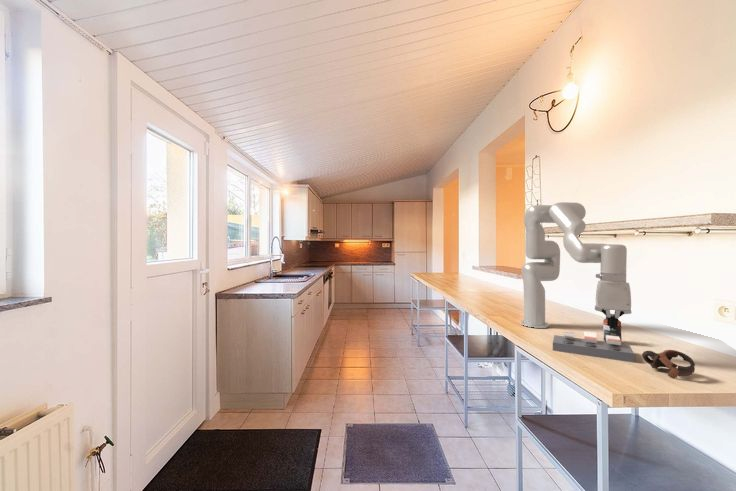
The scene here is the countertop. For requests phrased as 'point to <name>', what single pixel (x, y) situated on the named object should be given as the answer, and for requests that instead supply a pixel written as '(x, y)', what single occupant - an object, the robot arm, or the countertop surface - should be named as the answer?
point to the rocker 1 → (568, 335)
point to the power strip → (593, 348)
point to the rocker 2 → (613, 340)
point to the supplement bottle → (611, 331)
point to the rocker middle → (590, 337)
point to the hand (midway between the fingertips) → (612, 328)
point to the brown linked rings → (669, 362)
